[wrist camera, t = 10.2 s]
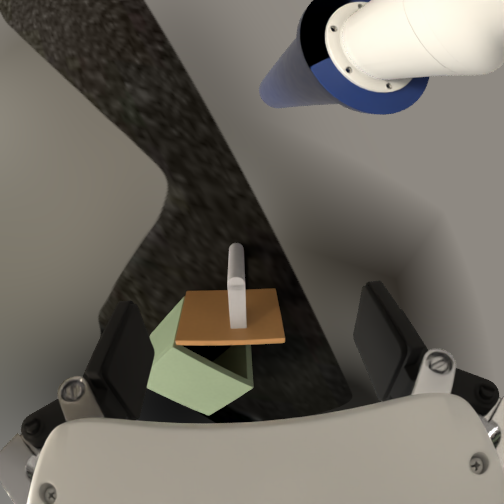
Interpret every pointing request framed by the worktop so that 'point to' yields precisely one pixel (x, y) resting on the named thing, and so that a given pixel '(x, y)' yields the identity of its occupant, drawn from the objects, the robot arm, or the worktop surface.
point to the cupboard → (197, 370)
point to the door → (231, 312)
